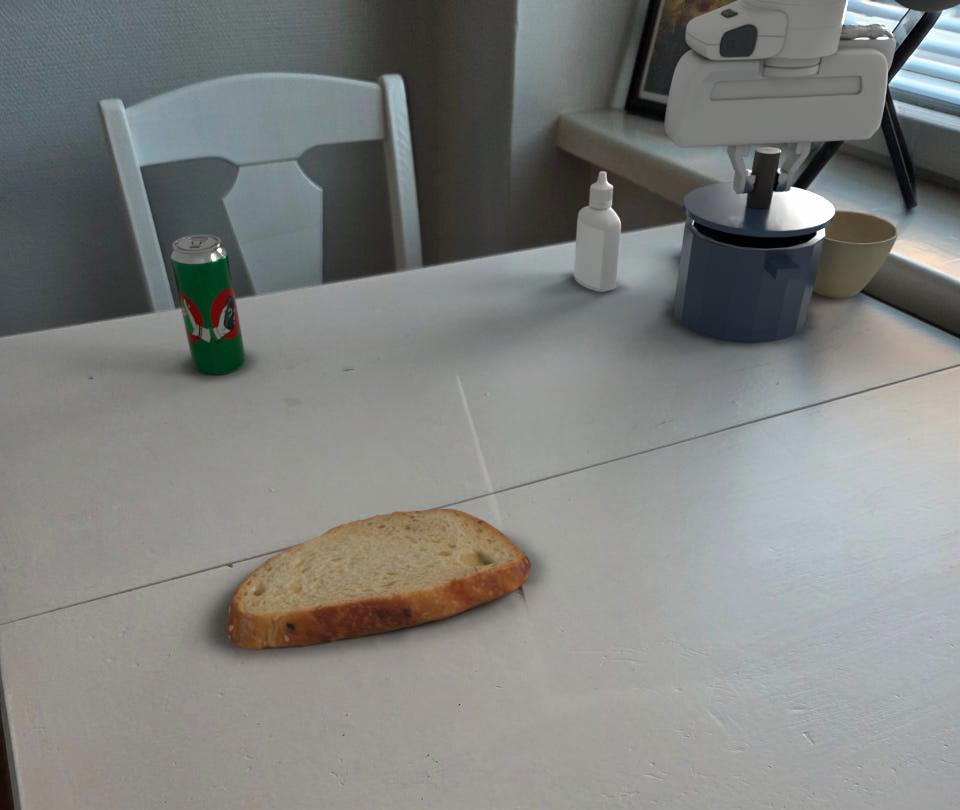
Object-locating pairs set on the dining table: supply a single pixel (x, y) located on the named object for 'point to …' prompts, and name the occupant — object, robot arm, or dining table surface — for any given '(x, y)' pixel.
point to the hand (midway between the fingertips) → (760, 191)
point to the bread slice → (375, 579)
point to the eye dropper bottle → (598, 239)
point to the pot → (745, 283)
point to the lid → (759, 205)
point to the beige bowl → (852, 253)
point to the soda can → (208, 304)
